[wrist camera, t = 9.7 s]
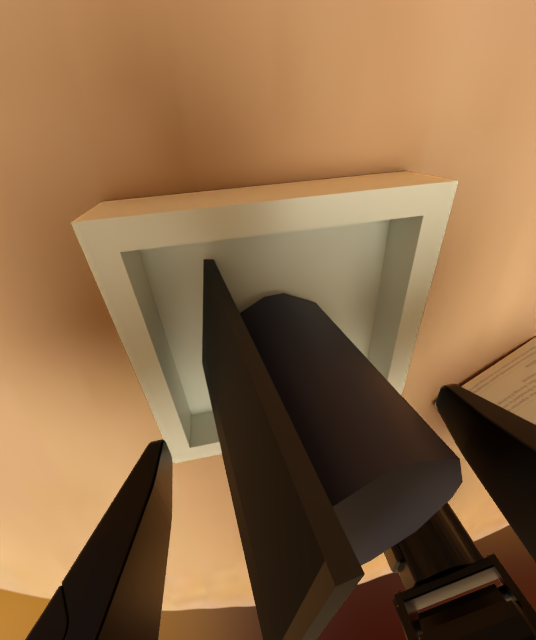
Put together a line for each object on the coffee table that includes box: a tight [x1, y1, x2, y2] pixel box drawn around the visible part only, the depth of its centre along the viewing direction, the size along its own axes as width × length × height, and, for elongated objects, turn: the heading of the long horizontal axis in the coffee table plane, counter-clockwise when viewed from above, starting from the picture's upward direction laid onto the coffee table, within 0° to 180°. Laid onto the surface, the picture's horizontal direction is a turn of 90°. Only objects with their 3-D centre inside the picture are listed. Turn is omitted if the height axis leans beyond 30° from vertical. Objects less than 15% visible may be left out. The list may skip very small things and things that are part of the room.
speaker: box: [202, 259, 462, 640], centre depth 10 cm, size 8×6×10 cm
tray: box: [71, 171, 458, 464], centre depth 13 cm, size 12×12×3 cm
